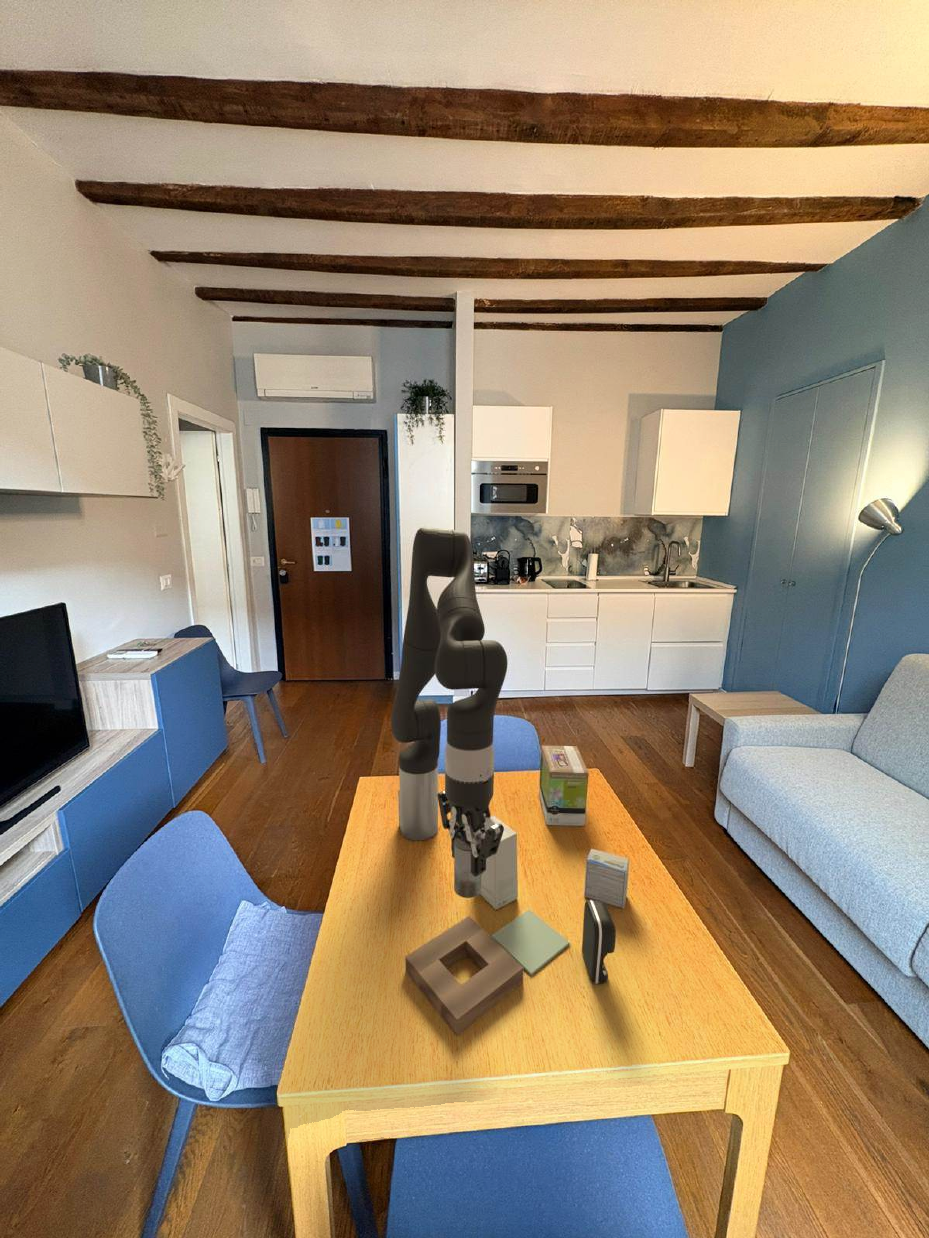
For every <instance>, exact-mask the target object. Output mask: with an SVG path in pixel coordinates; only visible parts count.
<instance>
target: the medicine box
mask: <svg viewBox="0 0 929 1238" xmlns="http://www.w3.org/2000/svg"><path fill="white" fill-rule="evenodd" d="M585 861H586V862H585V875H584V877H585V878H584V891H583V892H584V893H583V896H584V897H585V898H587V899H589V900H592V901H603V902H605V903H606V905H609V906H613V907H617V908H619V909H622V910H623V909H625V906H626V900H627V895H628V883H629V882H628V881H629V868H630V859H629V858H627V857H624V856H619V855H617V854H612V853H609V852H605V851H603V850H598V849H594V848H590V850H589V853H588V855H587V858H586V860H585Z"/></svg>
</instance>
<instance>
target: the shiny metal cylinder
mask: <svg viewBox="0 0 929 1238" xmlns="http://www.w3.org/2000/svg"><path fill="white" fill-rule="evenodd" d="M475 833H477V832H474V833H473V834H475ZM480 845H481V840H479V841H478V847H479V846H480ZM453 861H454V862H453V863H454V864H453V873H454V875H453V879H454V880H453V890H454V892H455V894H456V895H458V896H459V897H460V898H463V899H471V898H475V897H477V896H479V895H480V892H481V875H482V874H480V875H478V876H476V877H475V876H474V875H472V874H471V862H472V848H471V843H470V842H469V841H468V840H467V835H466V830H464V831H461V832H459V833H457V834H456V835H455V838H454V858H453Z"/></svg>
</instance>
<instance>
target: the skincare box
mask: <svg viewBox="0 0 929 1238" xmlns="http://www.w3.org/2000/svg"><path fill="white" fill-rule="evenodd" d="M491 820H492V821H493V822H494V823H495V824H496V825H497V824H499V823H501V824H502V825H503V827H504V831H503V835H502V838H501V841H500V844H499V847H498V850H497V853H496V854H494V855H492V856H490V857H488V858H487V859H486V870H485V872H483V873H482V875H481V892H480V893H479V895H481V896H482V897H483V898H484V899H485V900H486V901H487V903H489V904H490V905H491V906H492V907H493V909H494V910H499V909H500V908H502V907H504V906H506V905H508V904H511V903H512V902H514V901H516V900H518V897H519V885H518V882H519V881H518V837H517V836H518V833H517V832H516V831H515V830H513V829H511V828H510V826H508V825H507V824H506V823H504V822H503V821H502V820H500V819H499V818H498V817H496V816H495V815H491ZM479 831H480V830H479ZM479 831H477V832H479Z"/></svg>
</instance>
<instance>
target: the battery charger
mask: <svg viewBox="0 0 929 1238" xmlns="http://www.w3.org/2000/svg"><path fill="white" fill-rule="evenodd" d="M582 924H583V927H582V943H581V954H582V956H583V960H584V963H585V967H586V970H587V973H588V976H589V979H590V983H592V984H596V985H597V984H602V983H606V982H608V980H609V973H608V970H607V967H606V964H605V962H604V960H605V958H606V957H607V956H608V954H613V953H614V952H615V949H616V937H617V933H616V931H617V929H616V925H615V922H614V919H613V917H612V914H611V912H610V910H609V908H608V904H606V903H605V902H603V901H596V900H593V899H589V900H586V901H585V903H584V911H583V923H582Z"/></svg>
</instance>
